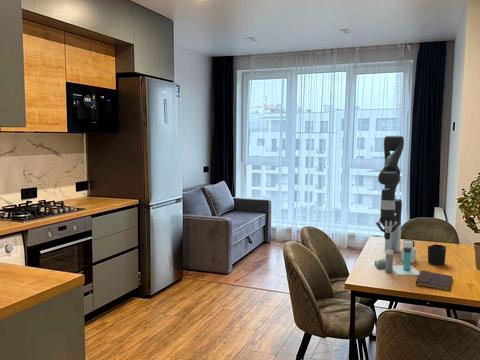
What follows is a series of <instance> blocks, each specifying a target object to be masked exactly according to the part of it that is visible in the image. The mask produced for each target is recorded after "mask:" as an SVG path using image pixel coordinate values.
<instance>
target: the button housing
mask: <svg viewBox="0 0 480 360" xmlns="http://www.w3.org/2000/svg"><path fill="white" fill-rule="evenodd" d="M374 266H375V268H376V269H381V270H382V269H384V270H385V269H386V261H385V263H380V260H374Z"/></svg>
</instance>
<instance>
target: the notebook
mask: <svg viewBox="0 0 480 360" xmlns="http://www.w3.org/2000/svg"><path fill="white" fill-rule="evenodd" d="M419 273H420V274H419V276H417V278H416V280H415V285H417V286H421V287H427V288H433V289H438V290H443V291H448V292H449V291H451V288H452V281H453V275H449V274H444V273H438V272H431V271H429V270H423V269H420V271H419Z"/></svg>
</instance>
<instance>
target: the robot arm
mask: <svg viewBox="0 0 480 360" xmlns="http://www.w3.org/2000/svg"><path fill="white" fill-rule="evenodd" d="M404 145H405V140H404V136H402V135H385V136H384V139H383V154H384V155H383V156H384V165H383V167H382V170H381V171H380V172H379V173H378V177H377V181H378V183H379V184H380V185H384V188H383V189H381V200H380V218H379V220H378V221H376V222H375V225H376V226H377V228H378V229H379V230H380V231H381V232H382V233H384V234H383V235H384V237H383V239H384V250H385V251H386V249H391V250H393V253H401V238H402V235H401V231H402V210H403V208H402V207H403V202H402V199H400V198H396V190H397V187H398V185H399V184H400V182H401V169H400V168H399V166H398V165H399V161H400V159H401V155H402V153H403V150H404V148H405V147H404ZM391 152H392V153H391ZM381 225H382V226H381Z"/></svg>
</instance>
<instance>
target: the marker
mask: <svg viewBox="0 0 480 360" xmlns="http://www.w3.org/2000/svg"><path fill="white" fill-rule="evenodd" d="M402 262H403V264H402V266H403V270H405V271H410V267H411V266H412V265H411V264H412V263H411V248H410V247H404V259H403V261H402Z"/></svg>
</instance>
